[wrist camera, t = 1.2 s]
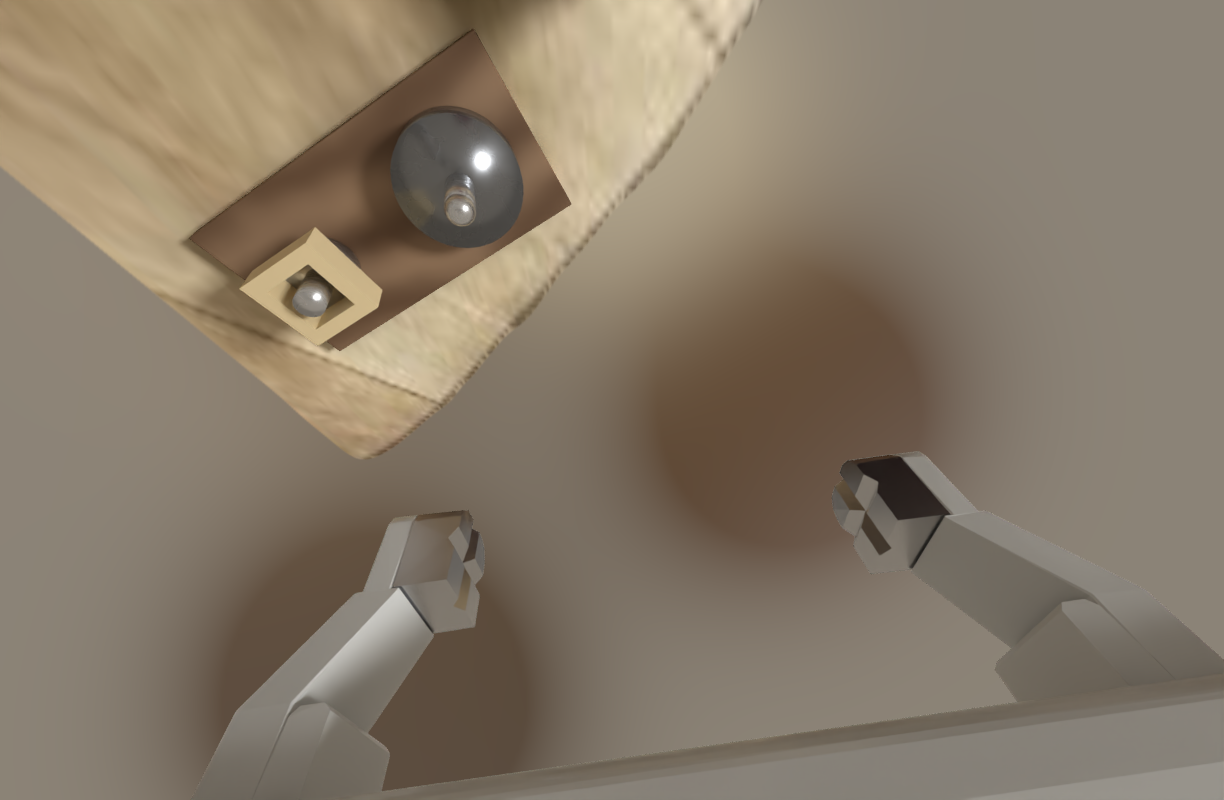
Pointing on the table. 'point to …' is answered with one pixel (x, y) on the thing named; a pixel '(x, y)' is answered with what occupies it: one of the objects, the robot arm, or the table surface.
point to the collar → (329, 263)
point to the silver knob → (317, 287)
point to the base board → (384, 190)
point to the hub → (456, 177)
